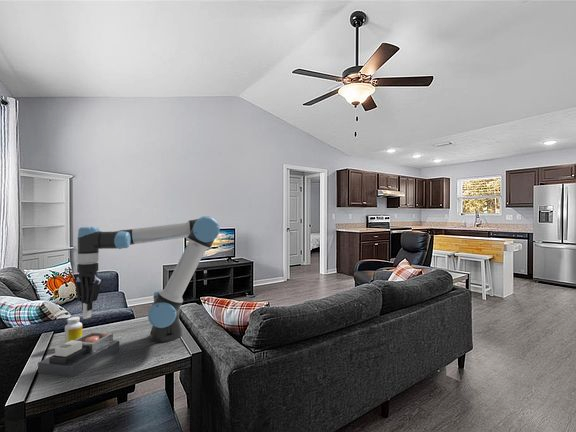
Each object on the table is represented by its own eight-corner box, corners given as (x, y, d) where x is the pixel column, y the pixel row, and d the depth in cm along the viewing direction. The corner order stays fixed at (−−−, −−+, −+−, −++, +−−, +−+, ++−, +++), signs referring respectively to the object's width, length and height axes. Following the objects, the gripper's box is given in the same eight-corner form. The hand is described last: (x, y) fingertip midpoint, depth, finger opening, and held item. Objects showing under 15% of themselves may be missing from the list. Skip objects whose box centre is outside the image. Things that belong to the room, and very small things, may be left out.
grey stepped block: (119, 349, 131) (119, 332, 131) (73, 377, 109) (73, 357, 109) (89, 346, 134) (89, 330, 134) (38, 372, 112) (38, 353, 112)
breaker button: (101, 343, 129) (101, 336, 129) (92, 348, 124) (92, 341, 124) (92, 342, 129) (92, 335, 129) (82, 347, 125) (82, 340, 125)
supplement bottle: (85, 343, 137) (85, 316, 137) (71, 350, 131) (71, 321, 131) (75, 342, 140) (75, 315, 140) (61, 347, 133) (61, 319, 133)
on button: (81, 348, 119) (81, 340, 119) (65, 356, 112) (65, 348, 112) (71, 347, 120) (71, 340, 120) (55, 355, 113) (55, 347, 113)
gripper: (107, 262, 127) (106, 316, 127) (83, 260, 130) (82, 313, 130) (93, 264, 120) (91, 322, 120) (67, 263, 123) (66, 319, 122)
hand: (87, 317), depth 125 cm, fingers closed
